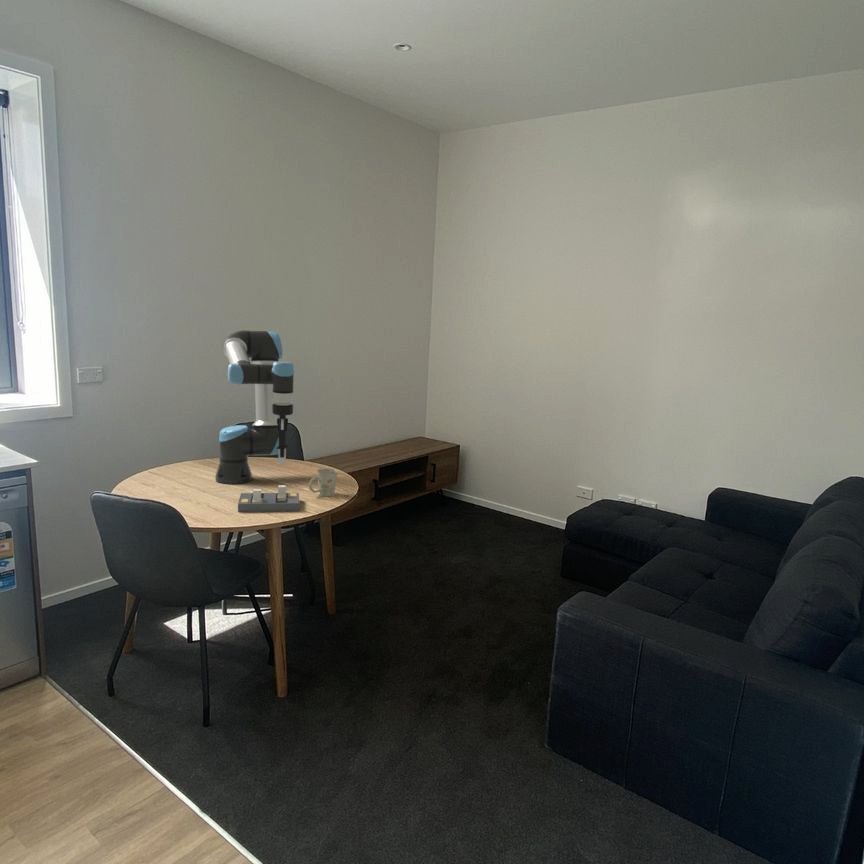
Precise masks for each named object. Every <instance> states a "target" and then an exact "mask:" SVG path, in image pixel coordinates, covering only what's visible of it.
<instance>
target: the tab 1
mask: <svg viewBox="0 0 864 864" xmlns="http://www.w3.org/2000/svg"><path fill="white" fill-rule="evenodd" d="M252 493H253V501H252V503H262V498H261V493H262V489H261V488H253V489H252Z"/></svg>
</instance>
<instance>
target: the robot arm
mask: <svg viewBox="0 0 864 864" xmlns="http://www.w3.org/2000/svg"><path fill="white" fill-rule="evenodd" d="M222 351H223V354H224V356H226V358H228V362H229V364H228V366H227V380H228V383H230V384H234V385H255V386H254V387H255V388H254V391H255V393H254V394H255V421H254V423H252V427H251V428H249V427H248V426H247V425H243V424H242V425H239V424H237V425H231V426H227V427H223V428H222V429H220V431H219V438H218V442H219V463H218V467H217V469H216V472H215V477H214V478H215V482H217V483H221V484H227V485H239V484H245V483H248V482H251V481H252V479H253V473H252V471H251V467H250V465H249V460H248V459H249V458H248V457H249V456H250V457H252V456H273V455H274V456H275V455H277V456H278V457H277V459H278V460H277V465H278V466H286V465H287V462H286V461H287V460H286V459H287V458H286V457H287V455H286V454H287V448H288V445H286V444H287V442H286V441H287V439H286V437H287V433H286V432H288V424H289V418H287V417H286V416H291V415H293V413H294V405H293V403H294V380H295V379H294V378H295V377H294V375H295V370H294V364H293V362H292V361H291V362H290V361H282V360H281V361H279V360H280V359H282V358H283V344H282V340H281V337H280V335H279V333H277V332H275V331H269V330H268V331H267V330H266V331H264V330H238V331H235V332H233V333H231V334H229V335H228V336H227V337H226V338H225V339H224V341H223V343H222ZM277 416H278V417H277Z"/></svg>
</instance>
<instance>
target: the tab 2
mask: <svg viewBox="0 0 864 864" xmlns="http://www.w3.org/2000/svg"><path fill="white" fill-rule="evenodd" d="M286 488H287V487H286V484H285V485H283V484H282V485H280V484H279V485H278V487H277V493H278V498H277V502H278V501H286V493H287V492H286V491H287V489H286Z"/></svg>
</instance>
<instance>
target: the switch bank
mask: <svg viewBox="0 0 864 864" xmlns="http://www.w3.org/2000/svg"><path fill="white" fill-rule="evenodd" d="M261 498H262V503H252V501H253V492H241V493H240V495H239V499H238V503H237V512H239V513H241V512H244V513H247V512H250V513H251V512H252V513H253V512H254V513H255V512H256V513H257V512H299V511H300V492H286V501H278V502H277V498H278V492H261Z"/></svg>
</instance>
